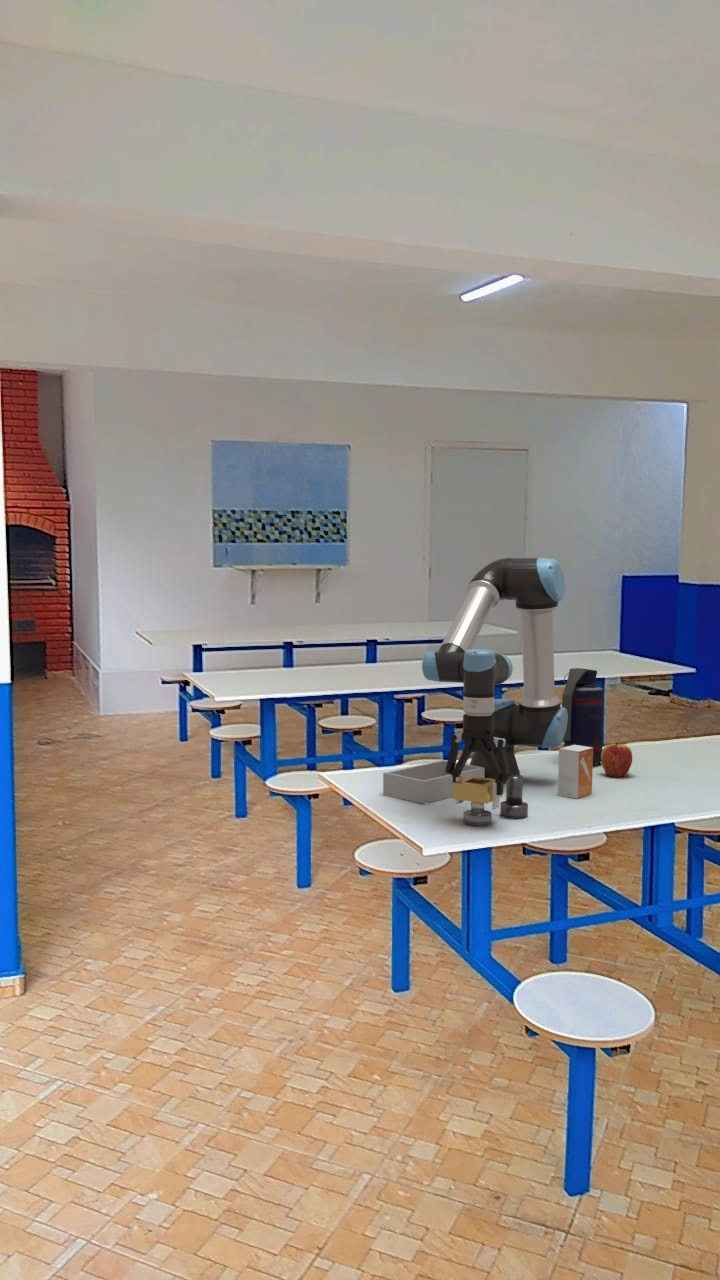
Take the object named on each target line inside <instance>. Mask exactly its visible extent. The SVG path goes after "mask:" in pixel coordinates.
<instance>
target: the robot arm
mask: <svg viewBox="0 0 720 1280" xmlns="http://www.w3.org/2000/svg"><path fill="white" fill-rule="evenodd" d="M565 582H566V581H565V576H564V571H563V568H562V566H561V564H560V563H559V562H558V561H557V560H556V559H553V558H544V557H516V558H513V557H512V558H511V557H504V558H503V557H502V558H499V559H495V560H493V561H491V562H489V563H488V564H487V565H485V566H484V567H483V568H481V569H480V570H479V571H478V572H476V574H475V575H474V576H473V577H472V579H471V580H470V581H469V583H468V585H467V587H466V591H465V593H466V597H465V599H464V601H463V603H462V605H461V606H460V609H459V610H458V613H457V615H456V616H455V618H454V620H453V622H452V623H451V626H450V627H449V629H448V631H447V634H446V636H445V637H444V639H443V640H442V643H441V645H440V647H439V649H438V651H436V650H433V651H427V653H425V654H424V656H423V658H422V662H421V664H422V665H421V669H422V674H423V676H424V679H426V680H427V681H433V682H438V683H441V682H442V683H457V684H458V683H459V684H460V683H461V684H463V696H462V697H463V699H462V701H463V702H462V705H463V707H462V709H463V711H462V712H463V713H464V714H463V715H462V733H458V732H456V733H453V734H451V735H450V742H451V744H450V749H449V753H448V757H447V760H446V761H447V766H446V770H445V771H446V773H449V774H451V775H452V776H453V782H456V781H458V780H460V779H463V776H460V774H462V773H461V772H462V770H463V768H464V766H465V764H467V762H468V760H469V758H470V756H471V754H472V753H473V754H472V757H471V760H470V761H469V762H470V763H469V765H472V766H478V767H483V768H484V778H490V779H495V780H496V781H494V782H493V801H491V803H492V807H491V808H492V810H496V809H500V803H501V797H500V795H502V796H503V794H504V784H506V780H508V779H510V778H511V775H521V771H520V769H519V765H518V761H517V759H516V754H515V746H520V747H521V746H524V747H533V748H542V749H549V748H550V749H555V748H558V747H560V745H561V744H562V742H564V740H563V738H564V736H565V732H566V728H567V721H568V713H567V709H566V708H564V707H562V705H561V699H560V698H559V697H558V696H557V695H556V692H555V689H556V688H555V658H554V657H555V656H554V649H555V648H554V621H553V620H554V618H553V617H554V614H553V612H554V611H556V609H557V608H558V607H559V602H561V601H563V599H564V596H565V589H566V583H565ZM504 600H508V601H515V608H516V609H517V610H518V611H519V612H520V614H521V639H522V667H523V668H522V669H523V671H522V672H523V673H522V674H523V676H522V677H523V696H522V697H521V698H520V699H519V700H518V704H516V700H515V699H514V698H495V689H496V688H495V687H496V686H497V685H501V684H503V683H505V682H506V681H508V680H509V679H510V678H511V676H512V674H513V670H514V668H513V663H512V661H511V659H510V658H509V657H508V655H505V654H503V653H495V652H494V651H493V650H492V649H483V648H479V649H478V648H476V649H475V648H474V649H473V646H474V644H475V642H476V640H477V639H478V636H479V635H480V633H481V630H482V628H483V627H484V625H485V622H486V620H487V619H488V616H489V615H490V612H491V610H492V609H493V608H496V607H497V605H499V603H500V601H504ZM462 741H463V743H464V745H465V746H464V748H463V749H462V753H461V755H460V757H459V759H458V754H459V750H460V746H461V742H462ZM457 759H458V761H457ZM456 762H457V765H456V767H455V764H456ZM454 768H455V769H454ZM463 802H464V800H457V799H455V805H460V804H462V803H463Z"/></svg>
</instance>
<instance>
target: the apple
mask: <svg viewBox="0 0 720 1280" xmlns="http://www.w3.org/2000/svg"><path fill="white" fill-rule="evenodd" d="M632 763H633V754H632V750H631V748H630V746H628V745H627V744H624V743H623V744H618V742H615V743H611V744H610V743H609V744H607V745H605V746H604V747H602V752H601V765H602V768H603V769H604V770H603V771H604V772H605V774H607V775H608V776H611V777H614V778H615V777H616V778H622V777H625V776H626V775H628V773H629V772H630V768H631V766H632Z"/></svg>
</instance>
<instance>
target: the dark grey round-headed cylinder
mask: <svg viewBox="0 0 720 1280" xmlns="http://www.w3.org/2000/svg"><path fill="white" fill-rule="evenodd" d="M523 778H524V777H523V775H521V774H520V775H511V778H510V779H508V780H506V783H505V785H506V787H505V788H506V790H505V800H503V801H500V807H499V809H500V810H499V814H500V817H501V818H504V819H508V820H510V819H511V820H523V819H526V818H528V817H529V804H528V802H525V801H523V788H524V787H523V785H524V783H523Z"/></svg>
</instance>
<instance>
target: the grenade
mask: <svg viewBox="0 0 720 1280" xmlns="http://www.w3.org/2000/svg"><path fill="white" fill-rule="evenodd" d="M597 675H598V670H595V669H587V668H580V667H579V668H578V667H576V668H573V667H572V668H570V669H569V672H567V673H565V675H564V677H563V682H564V684H565V686H564V690H563V692H562V698H561V701H562V702H561V707H564V708H566V709H567V713H568V721H567V728H566V732H565V736H564V738H563V743H564V744H563V748H564V747H567V746H571V745H580V746H586V747H593V765H598V766H601V765H602V762H601V752H602V750H603V744H604V742H603V740H604V736H603V734H604V701H603V699H604V695H605V693H604V691H605V690H604V688H603V687H600V686H599V685H598V684H596V679H597ZM566 678H567V681H566Z"/></svg>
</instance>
